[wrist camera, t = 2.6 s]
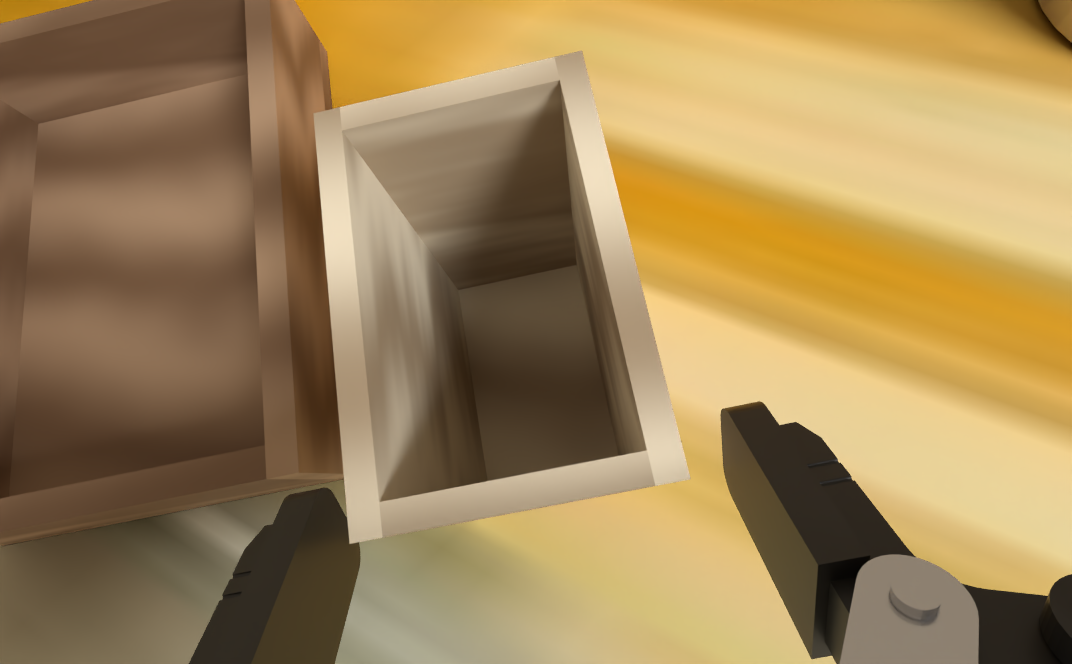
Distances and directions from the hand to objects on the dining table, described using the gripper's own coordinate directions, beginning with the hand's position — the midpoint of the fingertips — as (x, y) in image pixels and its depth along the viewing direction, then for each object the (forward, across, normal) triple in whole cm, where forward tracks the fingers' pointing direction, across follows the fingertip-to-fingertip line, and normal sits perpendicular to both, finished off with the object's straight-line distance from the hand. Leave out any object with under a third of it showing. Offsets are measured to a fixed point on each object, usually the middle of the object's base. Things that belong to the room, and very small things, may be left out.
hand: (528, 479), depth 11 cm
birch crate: (+9, 0, +4) cm, 10 cm away
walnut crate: (+15, +15, -2) cm, 21 cm away
